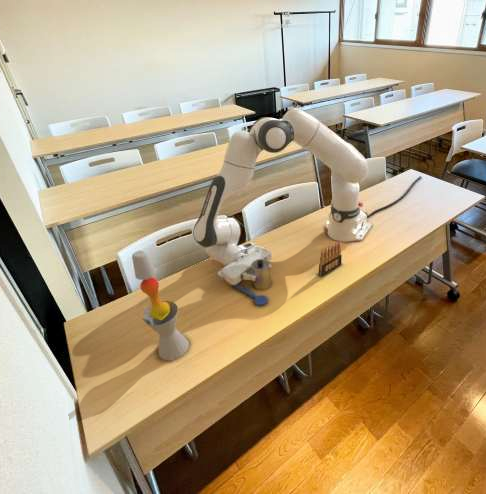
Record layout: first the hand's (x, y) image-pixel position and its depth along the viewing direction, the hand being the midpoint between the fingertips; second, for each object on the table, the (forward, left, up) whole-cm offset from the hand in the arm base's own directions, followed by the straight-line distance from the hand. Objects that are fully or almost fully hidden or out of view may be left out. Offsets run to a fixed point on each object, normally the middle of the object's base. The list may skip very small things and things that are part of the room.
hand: (263, 273), depth 119 cm
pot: (0, -1, -5) cm, 6 cm away
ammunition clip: (-22, +14, -6) cm, 27 cm away
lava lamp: (+37, -2, -6) cm, 38 cm away
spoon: (+7, 0, -5) cm, 9 cm away
